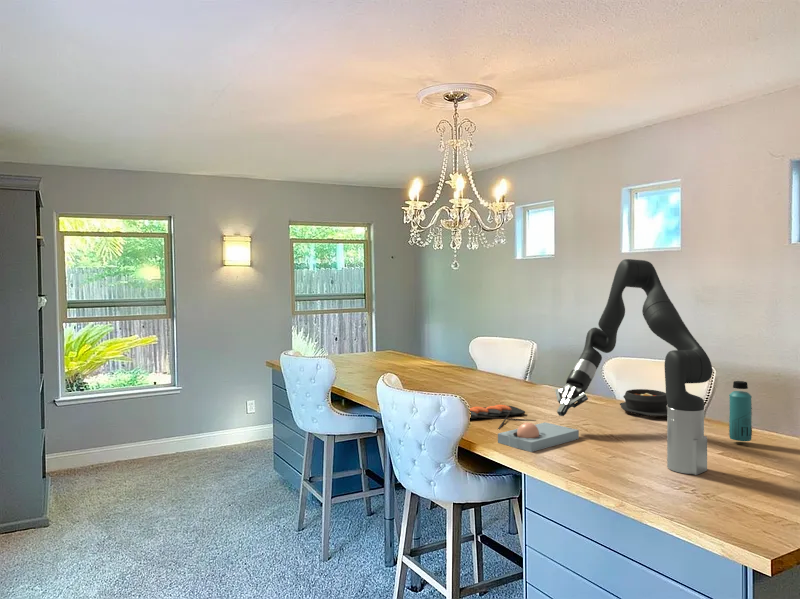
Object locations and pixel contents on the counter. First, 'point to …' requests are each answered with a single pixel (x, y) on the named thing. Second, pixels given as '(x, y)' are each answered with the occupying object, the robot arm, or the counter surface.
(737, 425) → the beverage bottle
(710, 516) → the counter surface
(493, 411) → the sushi plate
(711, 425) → the counter surface
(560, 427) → the board
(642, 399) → the casserole
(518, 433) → the ball
